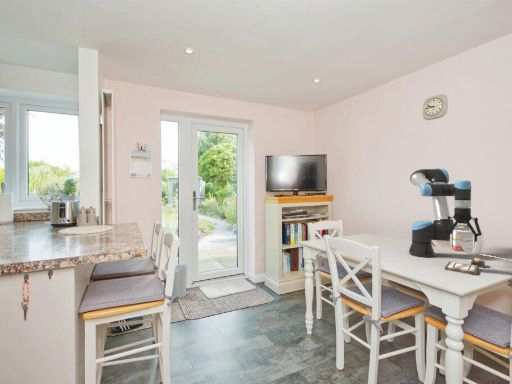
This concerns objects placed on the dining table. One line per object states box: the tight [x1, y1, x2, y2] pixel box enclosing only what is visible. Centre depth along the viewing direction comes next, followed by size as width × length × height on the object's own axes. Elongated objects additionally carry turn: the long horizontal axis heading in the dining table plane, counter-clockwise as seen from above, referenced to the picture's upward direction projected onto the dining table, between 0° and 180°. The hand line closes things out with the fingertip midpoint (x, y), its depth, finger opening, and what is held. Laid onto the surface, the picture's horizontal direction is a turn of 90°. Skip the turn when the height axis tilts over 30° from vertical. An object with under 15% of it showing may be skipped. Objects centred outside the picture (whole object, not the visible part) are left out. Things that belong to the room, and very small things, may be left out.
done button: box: [473, 257, 483, 263], centre depth 160 cm, size 4×4×2 cm
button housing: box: [470, 259, 486, 269], centre depth 160 cm, size 6×6×2 cm
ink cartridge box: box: [451, 224, 474, 253], centre depth 153 cm, size 9×5×15 cm, turn 71°
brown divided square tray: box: [444, 261, 480, 276], centre depth 154 cm, size 14×14×2 cm
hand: (462, 246), depth 154 cm, fingers closed on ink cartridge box, 10 cm apart
